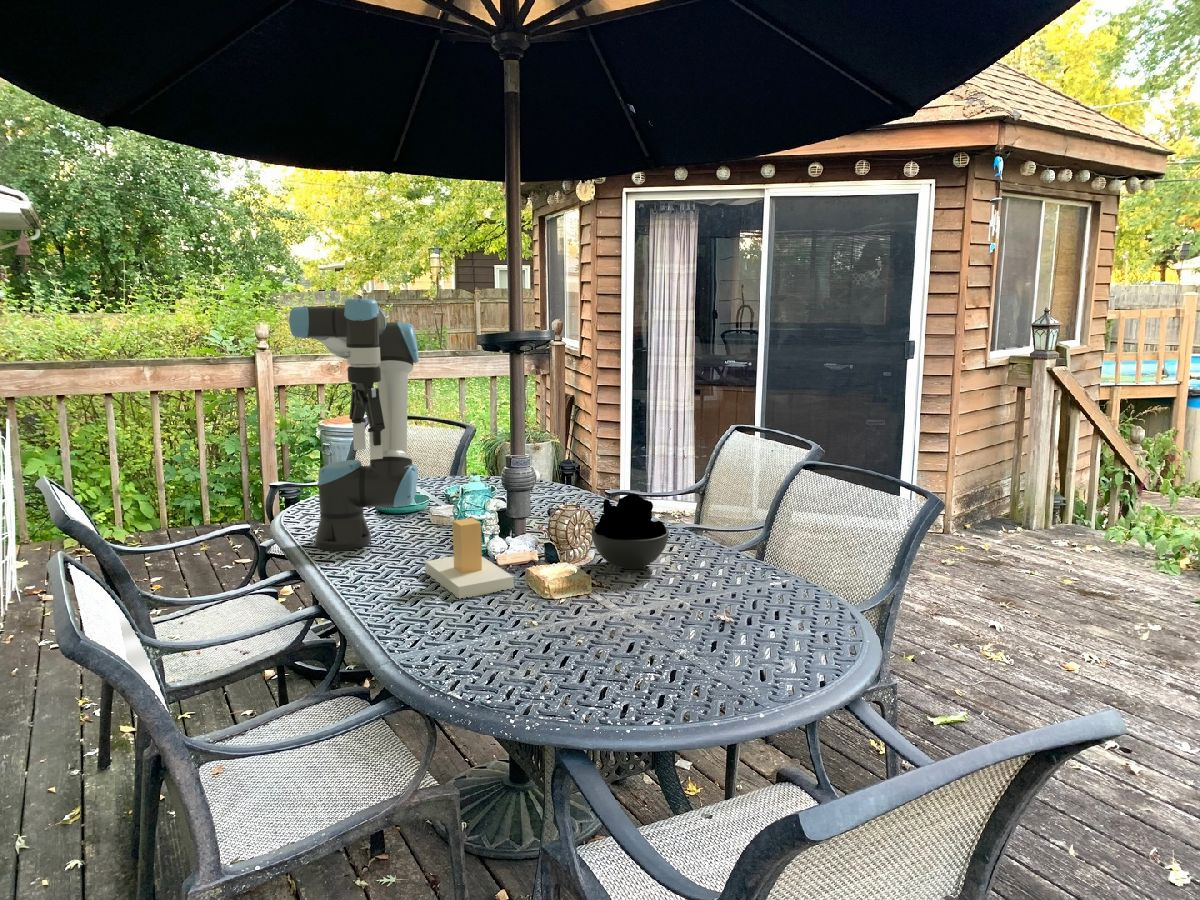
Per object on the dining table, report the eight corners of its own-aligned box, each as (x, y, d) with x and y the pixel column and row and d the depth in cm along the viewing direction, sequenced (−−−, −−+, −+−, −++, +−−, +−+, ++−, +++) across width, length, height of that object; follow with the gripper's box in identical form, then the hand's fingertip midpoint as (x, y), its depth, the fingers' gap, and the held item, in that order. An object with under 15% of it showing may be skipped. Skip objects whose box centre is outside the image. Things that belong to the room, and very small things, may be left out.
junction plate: (425, 572, 209) (424, 540, 208) (476, 563, 217) (475, 532, 215) (459, 599, 191) (458, 564, 189) (513, 588, 198) (513, 554, 197)
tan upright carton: (453, 567, 204) (452, 520, 202) (473, 564, 207) (472, 517, 205) (462, 573, 200) (460, 525, 198) (481, 569, 202) (480, 522, 200)
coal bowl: (668, 556, 224) (670, 489, 220) (667, 581, 204) (669, 507, 201) (595, 554, 225) (595, 487, 222) (587, 578, 206) (587, 505, 202)
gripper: (333, 362, 202) (338, 447, 206) (363, 370, 181) (367, 464, 185) (364, 361, 206) (368, 444, 210) (396, 368, 185) (400, 461, 189)
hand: (367, 454), depth 198 cm, fingers open, 13 cm apart
